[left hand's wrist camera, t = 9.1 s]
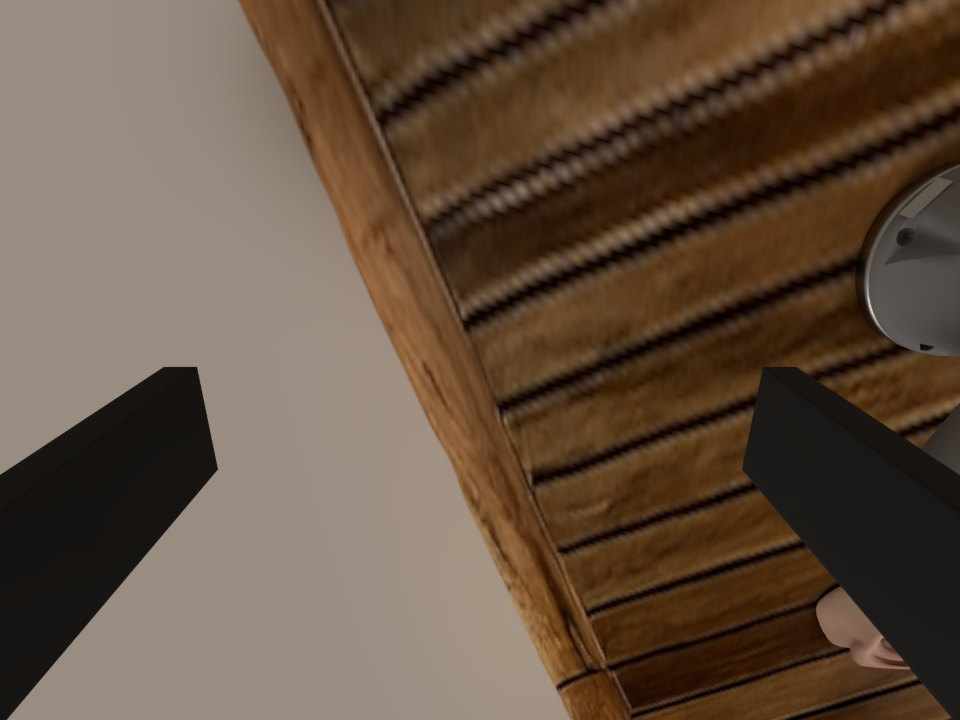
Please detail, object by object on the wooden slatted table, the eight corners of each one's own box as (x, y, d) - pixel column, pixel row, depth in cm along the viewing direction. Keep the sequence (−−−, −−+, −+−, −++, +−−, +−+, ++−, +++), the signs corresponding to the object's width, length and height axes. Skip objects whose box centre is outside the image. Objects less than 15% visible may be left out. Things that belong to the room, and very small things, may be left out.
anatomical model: (817, 650, 52) (914, 576, 49) (795, 617, 56) (883, 546, 53) (903, 706, 55) (1000, 639, 52) (876, 671, 59) (965, 607, 55)
